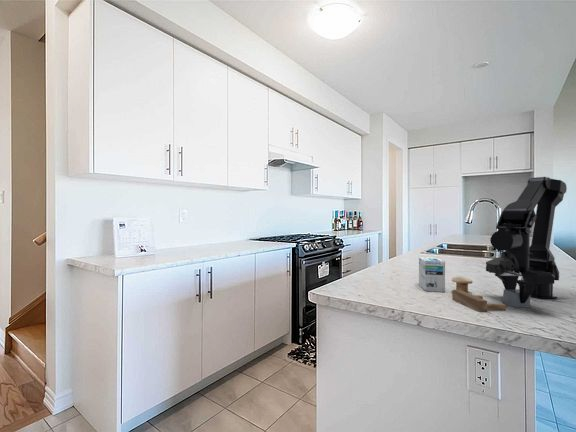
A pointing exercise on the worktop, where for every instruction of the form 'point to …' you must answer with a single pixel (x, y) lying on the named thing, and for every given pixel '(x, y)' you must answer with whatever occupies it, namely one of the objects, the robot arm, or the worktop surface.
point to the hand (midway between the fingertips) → (516, 301)
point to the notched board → (475, 302)
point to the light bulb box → (432, 274)
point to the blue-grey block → (514, 298)
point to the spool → (462, 284)
